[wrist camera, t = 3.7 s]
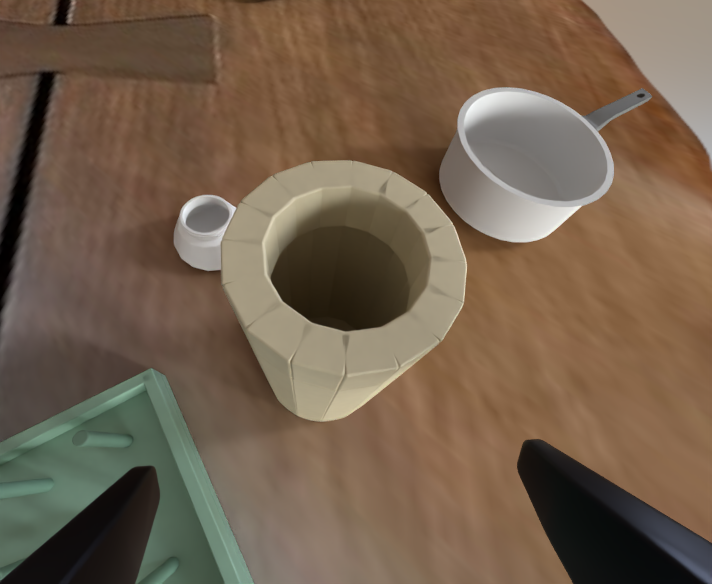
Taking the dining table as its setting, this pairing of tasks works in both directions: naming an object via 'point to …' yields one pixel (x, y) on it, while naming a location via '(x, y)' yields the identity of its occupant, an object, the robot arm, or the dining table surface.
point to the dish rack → (104, 467)
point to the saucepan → (527, 161)
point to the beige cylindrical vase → (340, 281)
